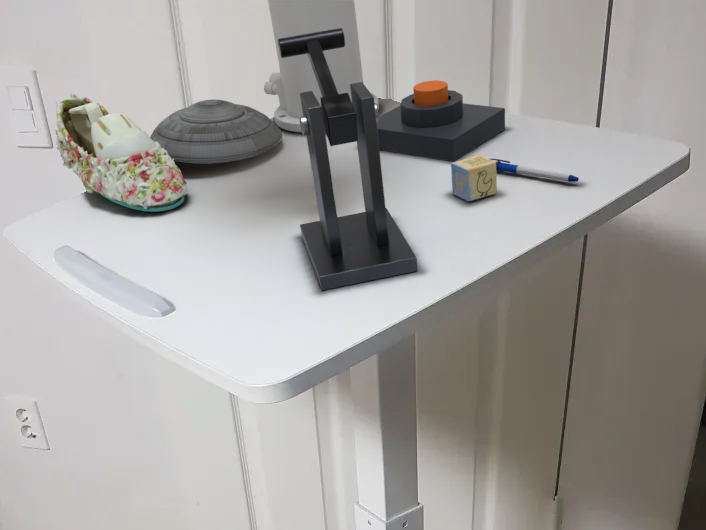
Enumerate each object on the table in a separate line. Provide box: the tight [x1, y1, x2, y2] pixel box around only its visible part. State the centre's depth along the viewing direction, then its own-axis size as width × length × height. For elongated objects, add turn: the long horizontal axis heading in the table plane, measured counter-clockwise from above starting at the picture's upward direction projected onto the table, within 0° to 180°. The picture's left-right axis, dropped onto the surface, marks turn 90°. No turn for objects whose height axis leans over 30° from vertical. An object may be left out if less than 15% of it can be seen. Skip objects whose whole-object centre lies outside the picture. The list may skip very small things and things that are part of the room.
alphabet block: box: [450, 154, 498, 202], centre depth 78 cm, size 3×3×3 cm
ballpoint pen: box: [490, 158, 579, 183], centre depth 80 cm, size 10×1×1 cm, turn 52°
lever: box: [278, 28, 358, 147], centre depth 68 cm, size 13×6×2 cm, turn 12°
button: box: [412, 80, 449, 106], centre depth 89 cm, size 4×4×2 cm
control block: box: [377, 89, 506, 162], centre depth 90 cm, size 12×10×4 cm
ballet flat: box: [54, 92, 188, 213], centre depth 89 cm, size 9×25×8 cm, turn 39°
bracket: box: [299, 82, 418, 291], centre depth 68 cm, size 11×8×13 cm
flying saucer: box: [149, 98, 283, 165], centre depth 94 cm, size 15×15×6 cm
